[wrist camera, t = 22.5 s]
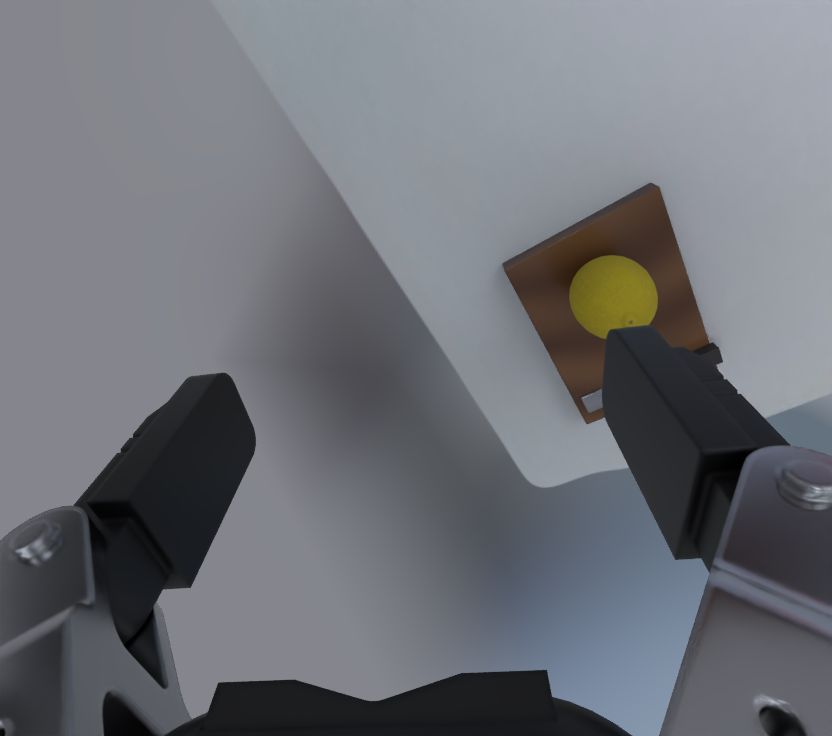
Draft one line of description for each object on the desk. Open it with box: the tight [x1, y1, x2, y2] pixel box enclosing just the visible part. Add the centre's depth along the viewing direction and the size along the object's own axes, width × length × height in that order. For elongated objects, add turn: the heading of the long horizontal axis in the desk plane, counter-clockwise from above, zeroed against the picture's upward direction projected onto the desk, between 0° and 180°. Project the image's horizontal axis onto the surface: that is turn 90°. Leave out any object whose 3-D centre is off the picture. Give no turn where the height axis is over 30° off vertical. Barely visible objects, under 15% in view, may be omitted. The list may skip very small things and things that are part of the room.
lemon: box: [569, 255, 658, 339], centre depth 33 cm, size 6×6×8 cm
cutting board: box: [502, 183, 718, 424], centre depth 39 cm, size 18×12×2 cm, turn 31°
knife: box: [580, 342, 723, 413], centre depth 41 cm, size 12×2×1 cm, turn 122°
